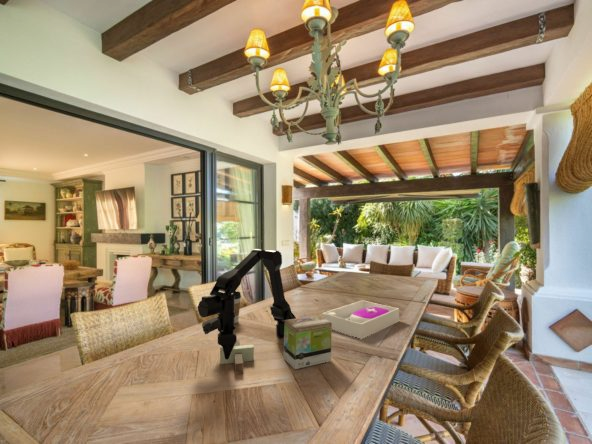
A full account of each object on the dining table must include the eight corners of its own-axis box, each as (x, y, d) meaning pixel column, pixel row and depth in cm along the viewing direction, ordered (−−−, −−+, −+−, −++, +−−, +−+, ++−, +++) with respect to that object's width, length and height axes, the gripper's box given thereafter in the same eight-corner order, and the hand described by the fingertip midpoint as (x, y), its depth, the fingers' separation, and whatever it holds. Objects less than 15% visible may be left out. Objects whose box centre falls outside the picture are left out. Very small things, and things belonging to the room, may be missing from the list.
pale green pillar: (252, 357, 112) (253, 344, 112) (253, 360, 109) (253, 347, 109) (220, 361, 109) (220, 347, 109) (220, 364, 106) (220, 350, 106)
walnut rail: (239, 348, 119) (239, 340, 119) (243, 373, 100) (243, 363, 100) (232, 349, 118) (232, 340, 118) (235, 374, 99) (235, 363, 99)
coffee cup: (236, 325, 147) (237, 294, 147) (221, 323, 148) (221, 293, 148) (243, 319, 155) (243, 290, 155) (228, 318, 156) (228, 290, 157)
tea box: (295, 371, 101) (295, 327, 101) (283, 359, 110) (283, 319, 110) (332, 361, 108) (332, 321, 108) (317, 351, 117) (317, 313, 117)
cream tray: (322, 327, 145) (322, 312, 145) (362, 312, 170) (362, 299, 170) (361, 340, 129) (361, 323, 129) (399, 322, 154) (399, 308, 154)
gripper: (204, 305, 115) (204, 345, 115) (202, 320, 97) (201, 368, 97) (234, 303, 118) (233, 342, 118) (236, 317, 100) (236, 364, 100)
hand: (226, 353), depth 108 cm, fingers open, 9 cm apart
